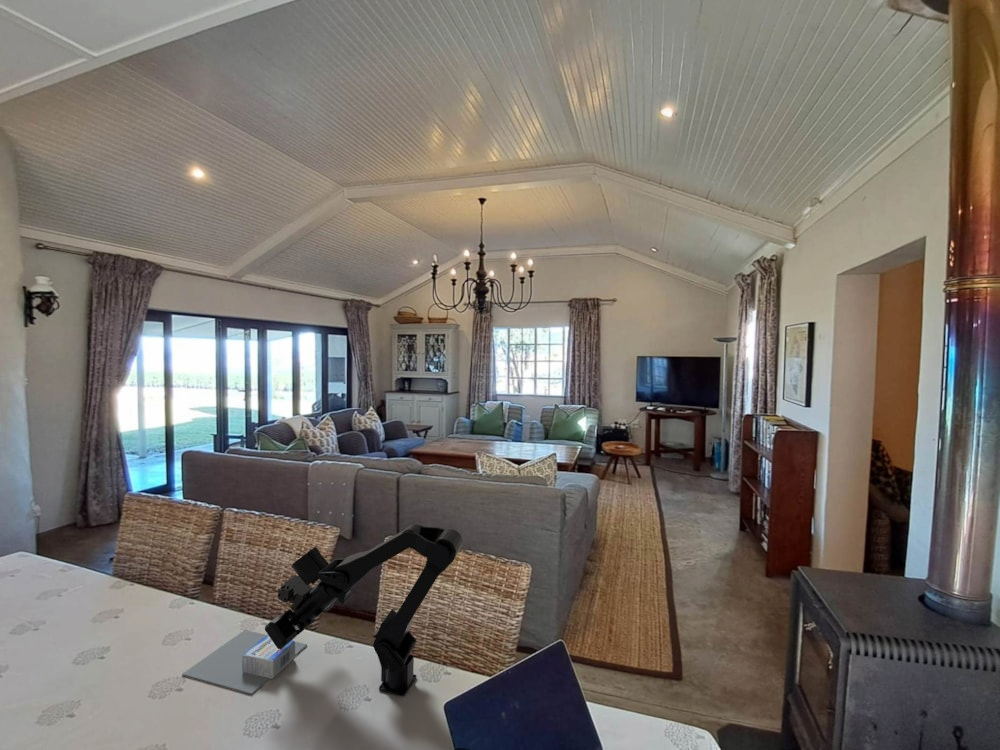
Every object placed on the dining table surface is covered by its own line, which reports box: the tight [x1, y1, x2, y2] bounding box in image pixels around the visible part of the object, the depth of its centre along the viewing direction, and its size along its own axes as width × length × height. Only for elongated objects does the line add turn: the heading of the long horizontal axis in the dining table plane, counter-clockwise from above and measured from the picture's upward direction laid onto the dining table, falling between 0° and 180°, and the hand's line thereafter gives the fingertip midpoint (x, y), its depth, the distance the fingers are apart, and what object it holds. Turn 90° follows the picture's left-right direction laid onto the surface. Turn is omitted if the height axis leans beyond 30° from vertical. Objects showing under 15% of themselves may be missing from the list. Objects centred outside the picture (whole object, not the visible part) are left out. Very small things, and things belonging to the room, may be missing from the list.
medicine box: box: [242, 636, 296, 679], centre depth 109 cm, size 8×4×9 cm
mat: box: [181, 629, 308, 696], centre depth 111 cm, size 20×18×1 cm
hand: (282, 633), depth 111 cm, fingers closed
